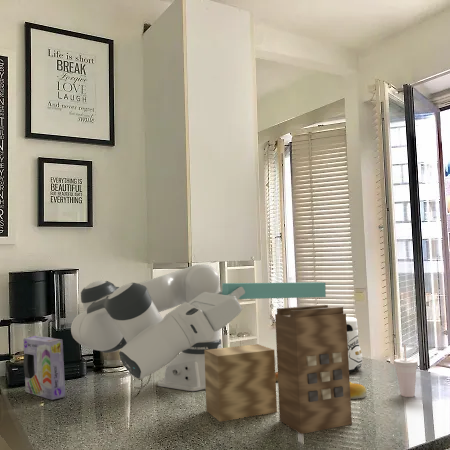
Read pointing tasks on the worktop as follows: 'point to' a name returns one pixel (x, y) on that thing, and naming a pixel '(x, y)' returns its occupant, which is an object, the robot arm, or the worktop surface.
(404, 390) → the smoothie
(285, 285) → the long teal plank
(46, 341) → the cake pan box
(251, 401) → the oak block
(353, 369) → the milk container
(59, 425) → the worktop surface
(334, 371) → the button stand
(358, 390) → the bread roll
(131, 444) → the worktop surface
